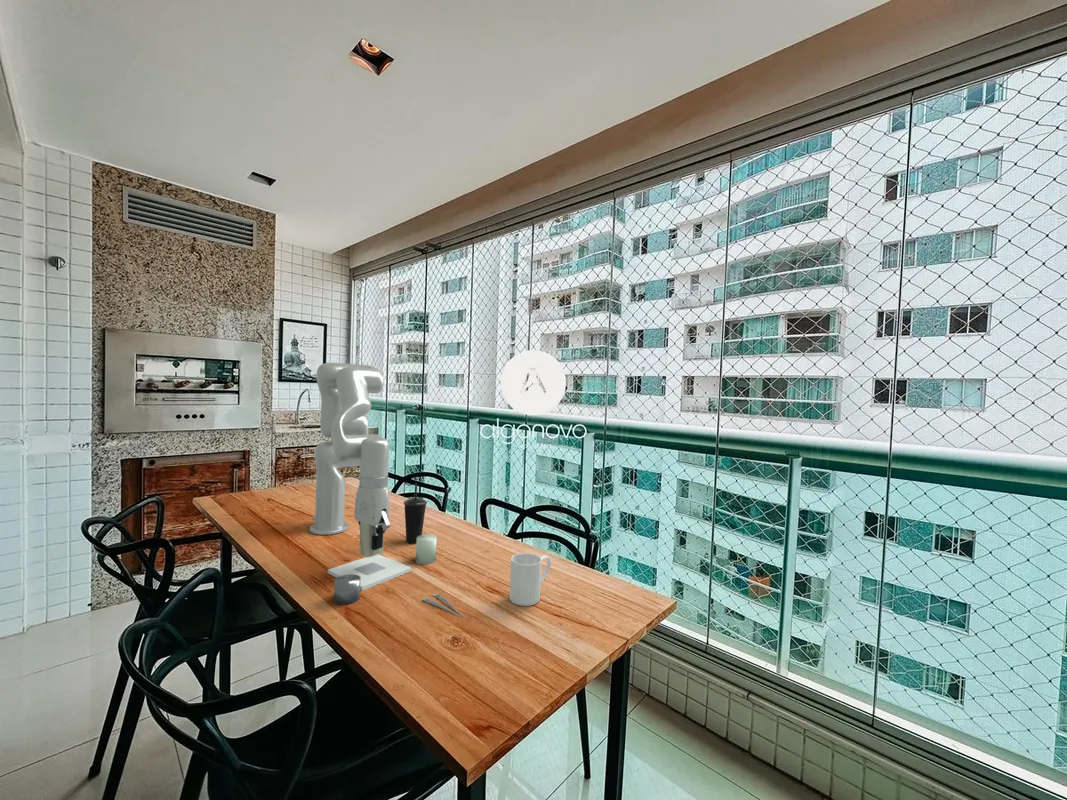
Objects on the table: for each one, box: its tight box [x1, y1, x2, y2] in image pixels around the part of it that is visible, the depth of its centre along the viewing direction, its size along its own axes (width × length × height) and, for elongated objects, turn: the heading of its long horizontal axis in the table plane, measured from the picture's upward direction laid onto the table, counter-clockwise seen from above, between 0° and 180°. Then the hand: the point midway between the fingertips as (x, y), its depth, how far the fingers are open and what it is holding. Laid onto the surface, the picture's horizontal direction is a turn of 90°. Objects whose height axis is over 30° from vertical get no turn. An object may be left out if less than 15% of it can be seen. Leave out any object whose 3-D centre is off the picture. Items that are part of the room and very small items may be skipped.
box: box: [359, 522, 384, 558], centre depth 126 cm, size 5×4×11 cm
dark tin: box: [333, 574, 361, 606], centre depth 110 cm, size 6×6×5 cm
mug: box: [508, 552, 552, 607], centre depth 116 cm, size 12×8×10 cm, turn 130°
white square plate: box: [327, 554, 413, 591], centre depth 126 cm, size 16×16×1 cm
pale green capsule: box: [415, 534, 438, 565], centre depth 137 cm, size 6×6×7 cm
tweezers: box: [421, 592, 466, 619], centre depth 108 cm, size 18×5×2 cm, turn 49°
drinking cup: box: [403, 482, 428, 545], centre depth 151 cm, size 8×8×20 cm
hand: (371, 545), depth 126 cm, fingers closed on box, 4 cm apart
